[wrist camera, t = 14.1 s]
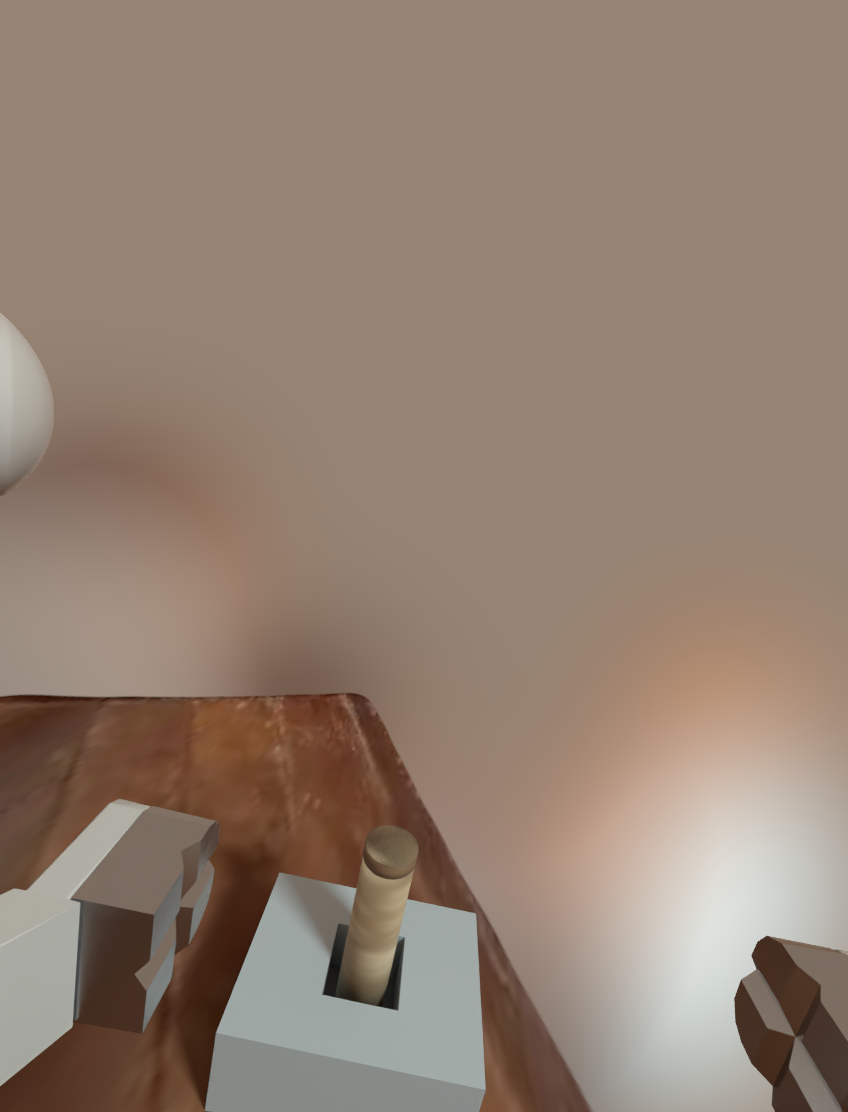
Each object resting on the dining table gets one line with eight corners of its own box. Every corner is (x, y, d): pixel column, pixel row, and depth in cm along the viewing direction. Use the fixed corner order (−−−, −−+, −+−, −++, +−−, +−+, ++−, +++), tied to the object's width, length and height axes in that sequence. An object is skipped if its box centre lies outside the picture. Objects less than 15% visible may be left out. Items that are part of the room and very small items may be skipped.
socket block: (204, 1110, 27) (216, 1032, 26) (269, 934, 37) (279, 872, 36) (462, 1165, 27) (485, 1090, 26) (459, 974, 37) (475, 913, 36)
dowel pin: (322, 1016, 31) (355, 850, 28) (349, 972, 34) (380, 817, 31) (366, 1046, 30) (404, 876, 27) (389, 997, 33) (426, 839, 30)
